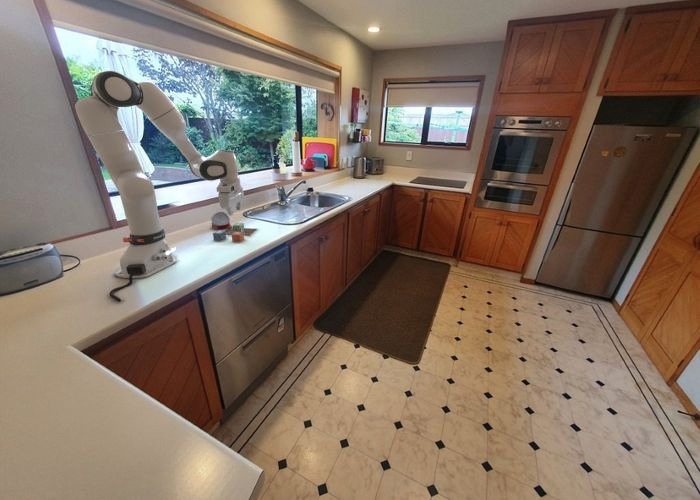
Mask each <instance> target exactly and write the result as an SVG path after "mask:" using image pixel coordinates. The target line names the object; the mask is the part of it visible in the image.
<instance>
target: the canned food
mask: <svg viewBox="0 0 700 500" xmlns="http://www.w3.org/2000/svg"><path fill="white" fill-rule="evenodd" d="M210 220H211V228H212V230H215V231H217V230H218V231H222V230H227V229H228V228H230V227H231V219H230V216H229V215H228V213H225V212H224V211H218V212H215V213H214V214H213V215H212V216H211V219H210Z"/></svg>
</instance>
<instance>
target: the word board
mask: <svg viewBox="0 0 700 500" xmlns="http://www.w3.org/2000/svg"><path fill="white" fill-rule="evenodd" d="M244 229H245V231H243V234H244V237H251V236H252V235H253V234H254V233H255V232H257V231H258V228H249V227H244ZM224 231H225V234H226V236H232V235H231V234H233V233H234V231H233V226H232V227H231V226H230V227H229V228H226V229H224Z"/></svg>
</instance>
